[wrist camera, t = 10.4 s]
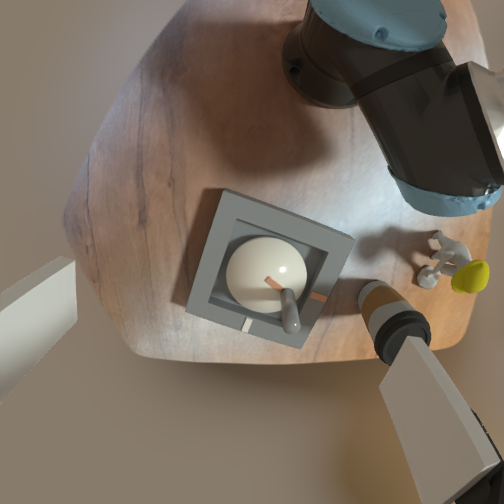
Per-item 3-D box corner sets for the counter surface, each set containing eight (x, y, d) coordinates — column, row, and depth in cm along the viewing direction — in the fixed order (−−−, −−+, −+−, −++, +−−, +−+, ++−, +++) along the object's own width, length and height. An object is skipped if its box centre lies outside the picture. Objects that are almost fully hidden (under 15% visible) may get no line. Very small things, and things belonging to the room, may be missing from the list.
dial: (211, 276, 46) (197, 310, 36) (262, 219, 43) (261, 239, 32) (269, 320, 48) (270, 362, 38) (321, 269, 45) (336, 302, 34)
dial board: (226, 188, 43) (223, 190, 40) (349, 235, 44) (355, 241, 41) (189, 302, 49) (184, 312, 46) (299, 338, 50) (300, 350, 47)
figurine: (396, 256, 45) (441, 295, 31) (433, 219, 43) (487, 244, 28) (424, 293, 47) (465, 336, 32) (457, 259, 44) (506, 292, 30)
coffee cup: (351, 321, 49) (377, 376, 35) (350, 278, 46) (380, 326, 32) (394, 312, 48) (429, 362, 34) (395, 269, 46) (438, 312, 31)
